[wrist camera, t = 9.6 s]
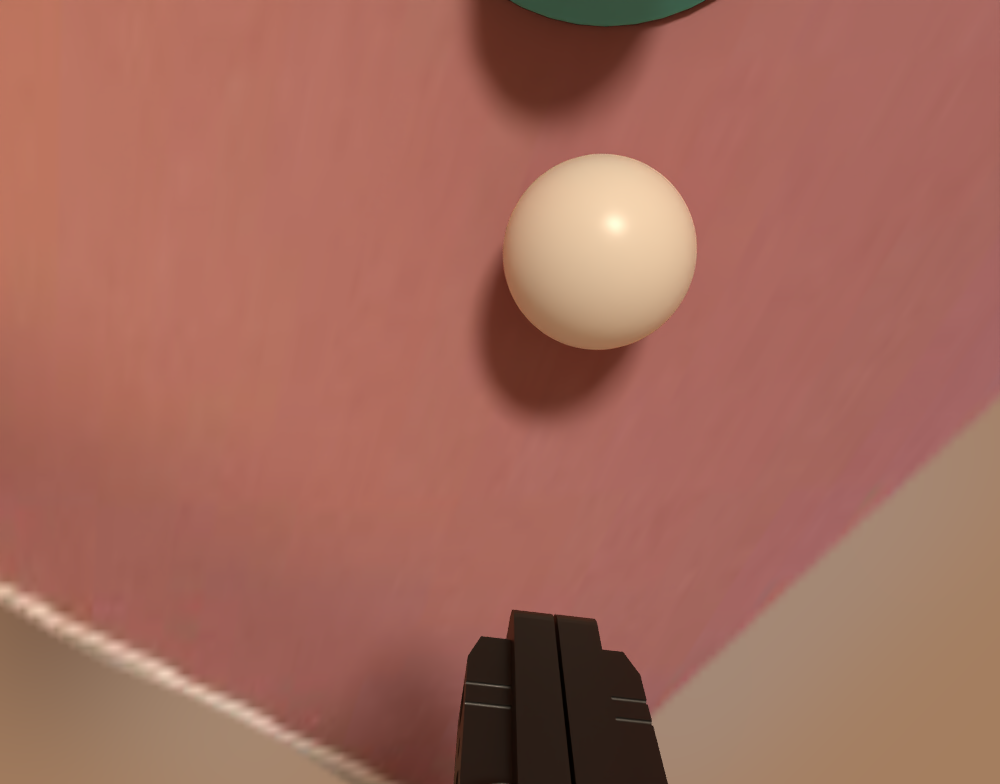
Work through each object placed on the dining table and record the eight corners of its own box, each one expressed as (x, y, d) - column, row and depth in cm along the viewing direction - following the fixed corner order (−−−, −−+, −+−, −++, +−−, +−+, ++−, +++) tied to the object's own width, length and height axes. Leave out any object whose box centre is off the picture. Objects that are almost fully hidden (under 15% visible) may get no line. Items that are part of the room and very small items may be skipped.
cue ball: (688, 252, 17) (677, 87, 20) (463, 290, 19) (482, 135, 22) (712, 372, 22) (701, 226, 25) (531, 392, 24) (540, 255, 27)
